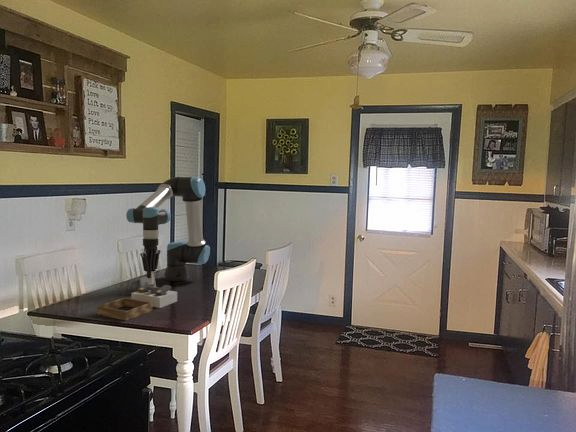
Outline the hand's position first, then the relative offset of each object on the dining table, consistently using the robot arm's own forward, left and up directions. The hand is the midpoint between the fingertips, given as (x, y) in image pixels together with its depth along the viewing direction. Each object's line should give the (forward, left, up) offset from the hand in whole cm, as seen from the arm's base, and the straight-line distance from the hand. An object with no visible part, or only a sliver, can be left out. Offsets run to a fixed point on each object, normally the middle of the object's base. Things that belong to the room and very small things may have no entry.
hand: (150, 284), depth 245 cm
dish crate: (+18, 0, -10) cm, 21 cm away
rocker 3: (-3, +5, -3) cm, 7 cm away
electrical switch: (-16, -16, -10) cm, 25 cm away
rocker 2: (-3, 0, -3) cm, 4 cm away
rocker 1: (-3, -6, -3) cm, 7 cm away
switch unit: (-3, 0, -10) cm, 11 cm away
